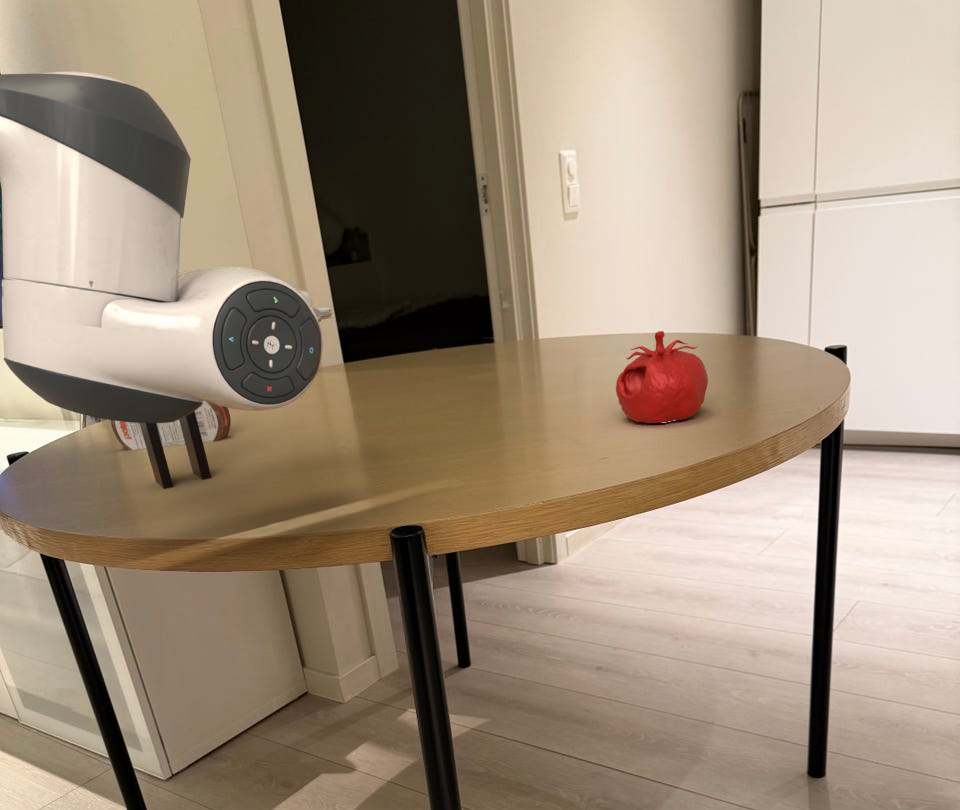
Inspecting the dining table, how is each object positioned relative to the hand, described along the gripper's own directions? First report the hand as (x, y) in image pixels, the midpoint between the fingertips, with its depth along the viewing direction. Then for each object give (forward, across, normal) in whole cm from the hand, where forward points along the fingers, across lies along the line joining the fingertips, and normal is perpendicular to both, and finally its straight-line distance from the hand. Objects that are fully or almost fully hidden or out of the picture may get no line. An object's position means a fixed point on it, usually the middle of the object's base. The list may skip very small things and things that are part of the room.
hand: (170, 328), depth 76 cm
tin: (+36, -4, +17) cm, 40 cm away
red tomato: (-5, -49, +17) cm, 52 cm away
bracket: (+14, 0, +17) cm, 22 cm away
